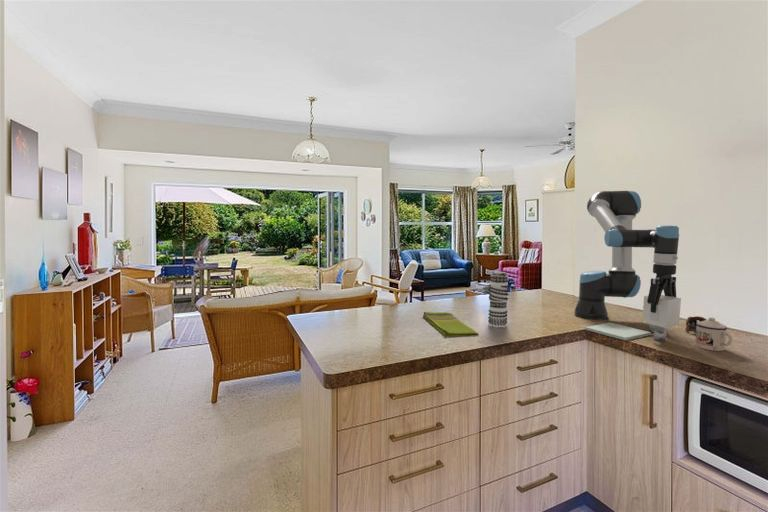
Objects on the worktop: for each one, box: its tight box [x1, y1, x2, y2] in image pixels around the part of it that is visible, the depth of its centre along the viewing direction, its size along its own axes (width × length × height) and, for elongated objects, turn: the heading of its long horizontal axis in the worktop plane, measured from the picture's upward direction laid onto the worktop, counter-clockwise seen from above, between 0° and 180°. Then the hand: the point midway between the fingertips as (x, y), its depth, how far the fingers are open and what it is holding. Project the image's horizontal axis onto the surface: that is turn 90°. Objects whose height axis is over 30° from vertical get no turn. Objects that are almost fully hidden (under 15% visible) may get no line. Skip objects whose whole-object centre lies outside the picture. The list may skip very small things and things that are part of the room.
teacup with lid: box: [695, 317, 734, 352], centre depth 145 cm, size 12×9×12 cm
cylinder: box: [653, 329, 667, 343], centre depth 155 cm, size 4×4×4 cm
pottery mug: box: [685, 316, 708, 334], centre depth 168 cm, size 12×10×8 cm
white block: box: [641, 294, 682, 329], centre depth 155 cm, size 9×9×11 cm
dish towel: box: [422, 311, 479, 338], centre depth 178 cm, size 15×36×3 cm, turn 9°
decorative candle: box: [487, 271, 510, 328], centre depth 177 cm, size 9×9×25 cm
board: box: [584, 322, 652, 341], centre depth 167 cm, size 18×18×1 cm
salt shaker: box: [648, 324, 666, 333], centre depth 168 cm, size 6×6×13 cm
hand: (660, 318), depth 155 cm, fingers closed on white block, 9 cm apart
